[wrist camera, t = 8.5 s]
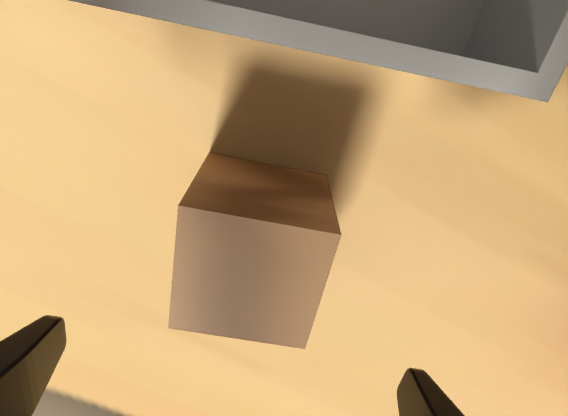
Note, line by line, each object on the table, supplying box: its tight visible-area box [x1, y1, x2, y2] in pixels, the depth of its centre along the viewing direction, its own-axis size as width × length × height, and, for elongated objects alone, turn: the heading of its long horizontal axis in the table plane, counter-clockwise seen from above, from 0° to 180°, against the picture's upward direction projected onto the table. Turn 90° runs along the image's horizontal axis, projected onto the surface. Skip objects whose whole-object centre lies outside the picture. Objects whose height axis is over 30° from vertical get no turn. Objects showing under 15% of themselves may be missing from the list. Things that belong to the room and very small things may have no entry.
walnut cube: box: [168, 153, 341, 349], centre depth 15 cm, size 5×5×5 cm
